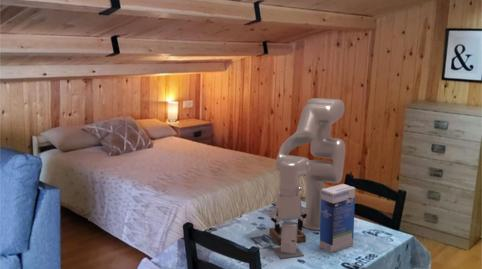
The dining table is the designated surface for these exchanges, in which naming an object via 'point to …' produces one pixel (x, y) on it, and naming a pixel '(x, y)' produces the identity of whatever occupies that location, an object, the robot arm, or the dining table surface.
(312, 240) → the dining table surface
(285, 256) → the mat
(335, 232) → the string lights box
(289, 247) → the skincare box
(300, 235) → the holder
